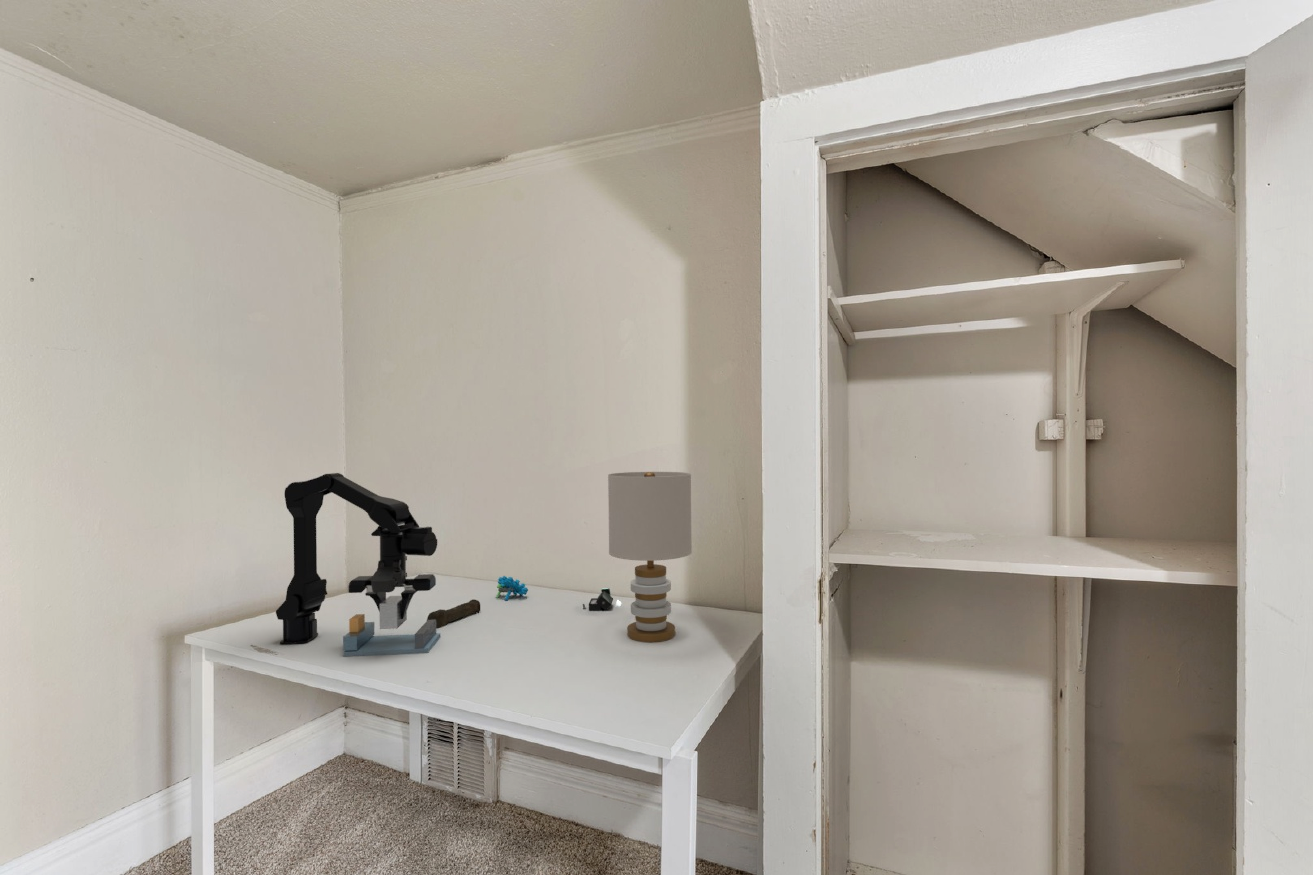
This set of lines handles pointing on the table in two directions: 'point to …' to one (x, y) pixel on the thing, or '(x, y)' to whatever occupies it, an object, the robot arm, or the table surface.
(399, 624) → the steel block
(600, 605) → the black angled gadget
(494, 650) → the table surface
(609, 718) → the table surface
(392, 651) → the vise
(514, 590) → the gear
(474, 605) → the brown wooden stick
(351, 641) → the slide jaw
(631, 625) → the lamp
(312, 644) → the table surface
